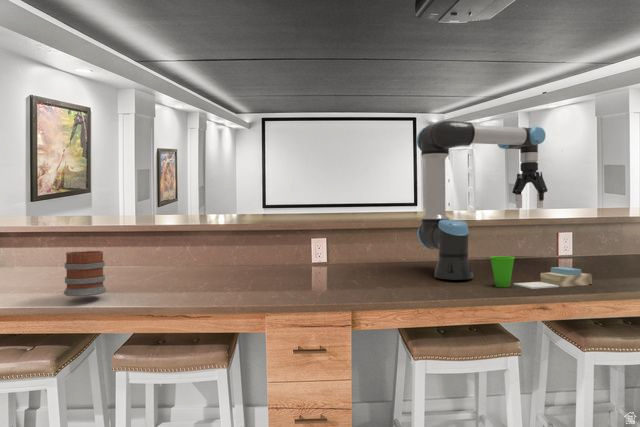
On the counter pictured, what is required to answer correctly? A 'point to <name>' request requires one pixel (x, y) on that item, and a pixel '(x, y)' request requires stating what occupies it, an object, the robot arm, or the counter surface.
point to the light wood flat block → (566, 279)
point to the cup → (502, 270)
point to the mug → (84, 273)
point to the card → (565, 271)
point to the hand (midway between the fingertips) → (529, 208)
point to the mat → (536, 285)
